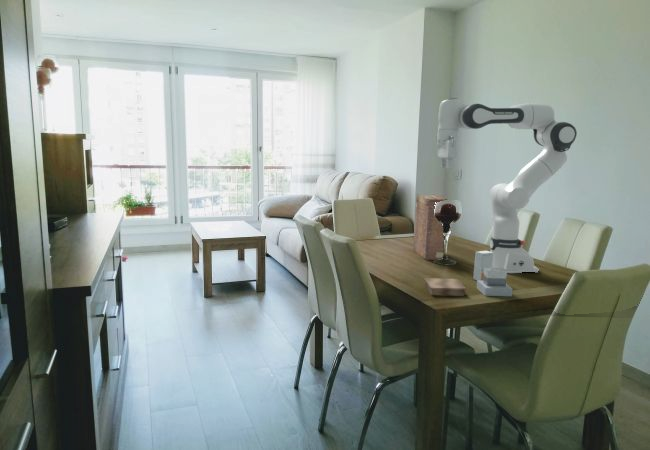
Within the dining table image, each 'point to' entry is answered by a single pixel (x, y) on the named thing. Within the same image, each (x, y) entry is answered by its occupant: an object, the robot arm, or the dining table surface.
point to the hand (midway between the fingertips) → (446, 168)
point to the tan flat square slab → (444, 287)
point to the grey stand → (494, 289)
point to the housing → (495, 276)
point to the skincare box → (482, 264)
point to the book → (428, 229)
